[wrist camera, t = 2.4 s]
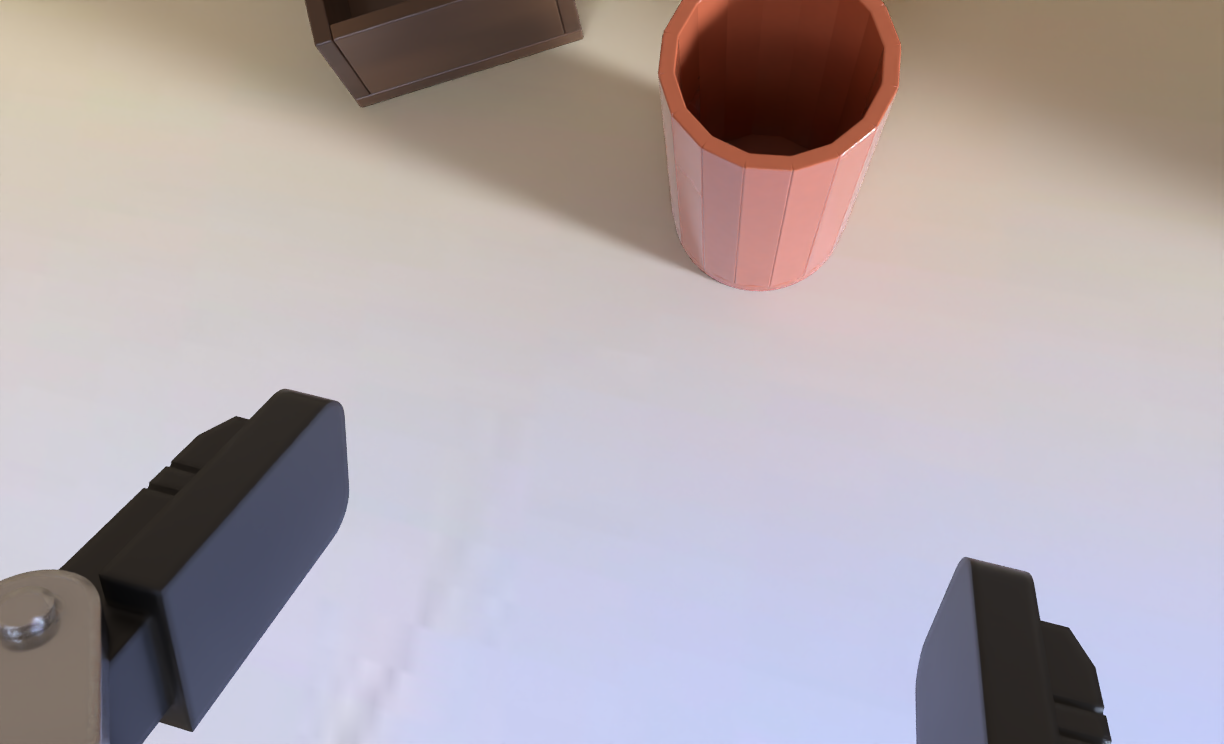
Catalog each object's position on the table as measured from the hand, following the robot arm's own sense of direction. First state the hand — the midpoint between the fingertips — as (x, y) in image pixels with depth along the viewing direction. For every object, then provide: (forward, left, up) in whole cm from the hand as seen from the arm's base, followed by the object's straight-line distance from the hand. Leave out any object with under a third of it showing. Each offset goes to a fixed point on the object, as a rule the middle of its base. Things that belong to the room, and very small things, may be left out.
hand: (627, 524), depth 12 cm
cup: (-6, -10, -18) cm, 21 cm away
